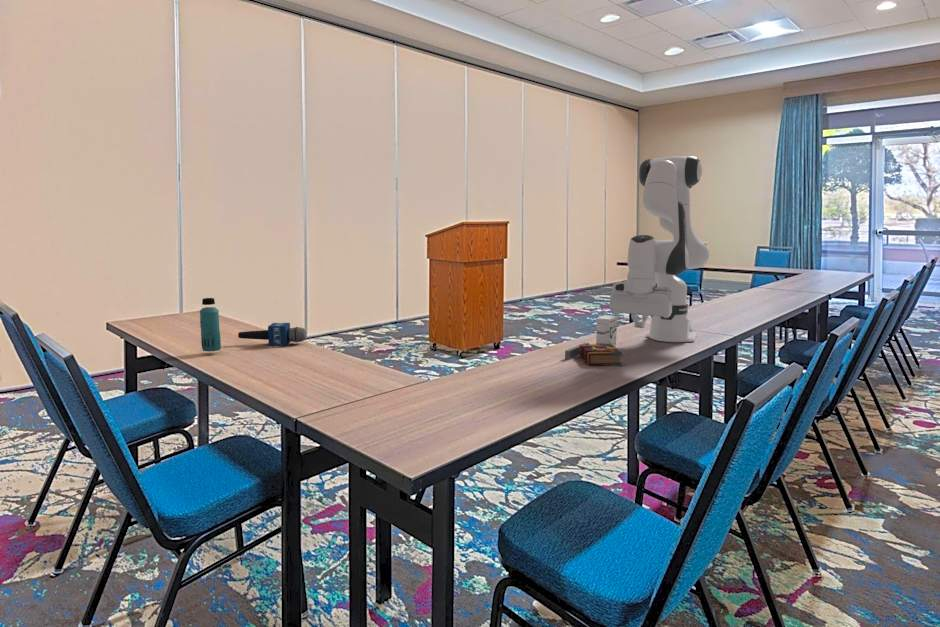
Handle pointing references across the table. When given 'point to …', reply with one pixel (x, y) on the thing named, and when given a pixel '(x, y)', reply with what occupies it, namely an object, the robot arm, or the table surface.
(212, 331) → the beverage bottle
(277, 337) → the microphone
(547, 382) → the table surface
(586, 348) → the decorative book
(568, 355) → the charcoal bar
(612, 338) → the ink box
